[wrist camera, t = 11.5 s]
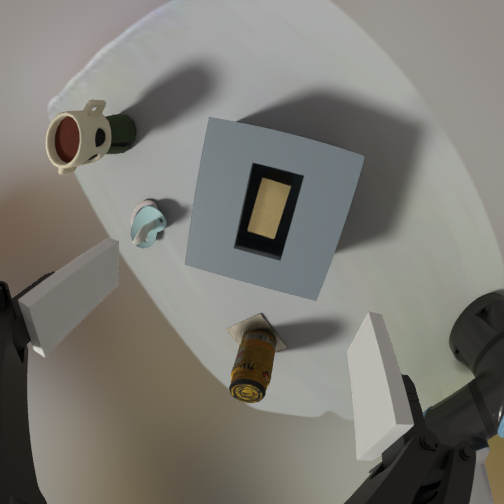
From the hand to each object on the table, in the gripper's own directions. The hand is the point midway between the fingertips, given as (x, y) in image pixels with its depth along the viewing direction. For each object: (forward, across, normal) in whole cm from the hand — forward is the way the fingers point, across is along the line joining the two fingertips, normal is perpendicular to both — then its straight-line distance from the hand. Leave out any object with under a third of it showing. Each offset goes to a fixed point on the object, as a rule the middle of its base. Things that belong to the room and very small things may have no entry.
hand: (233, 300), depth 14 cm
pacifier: (+26, +18, +9) cm, 33 cm away
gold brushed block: (+25, 0, 0) cm, 25 cm away
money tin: (+26, 0, 0) cm, 26 cm away
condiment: (+27, -3, +25) cm, 37 cm away
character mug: (+26, +25, -4) cm, 37 cm away
